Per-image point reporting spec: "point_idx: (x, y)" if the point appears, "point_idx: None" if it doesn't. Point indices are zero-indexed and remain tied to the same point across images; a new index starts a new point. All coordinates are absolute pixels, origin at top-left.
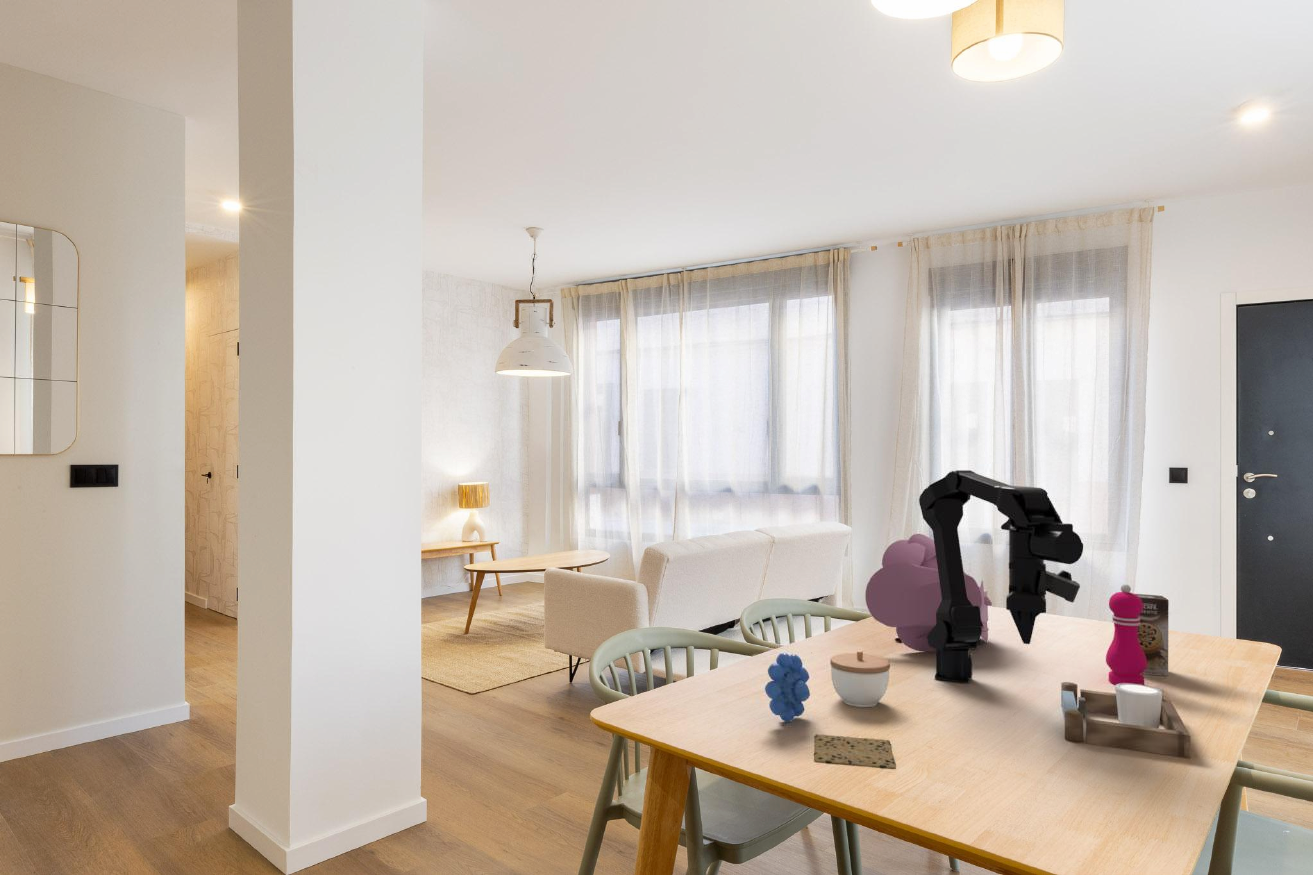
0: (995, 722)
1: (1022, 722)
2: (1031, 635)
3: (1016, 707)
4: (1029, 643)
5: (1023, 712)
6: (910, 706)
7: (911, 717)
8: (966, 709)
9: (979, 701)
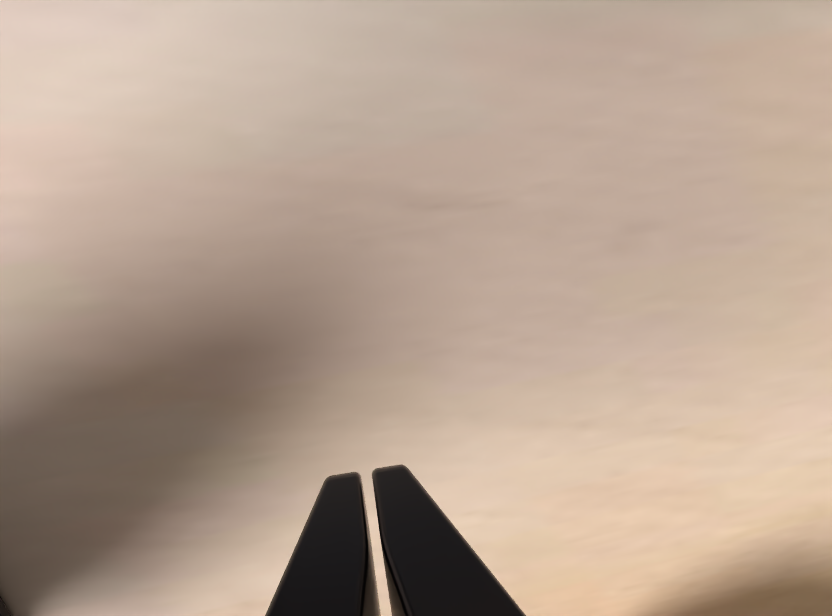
0: (673, 261)
1: (612, 134)
2: (465, 545)
3: (297, 215)
4: (405, 468)
5: (388, 160)
6: (579, 589)
7: (734, 545)
8: (504, 418)
9: (307, 404)
